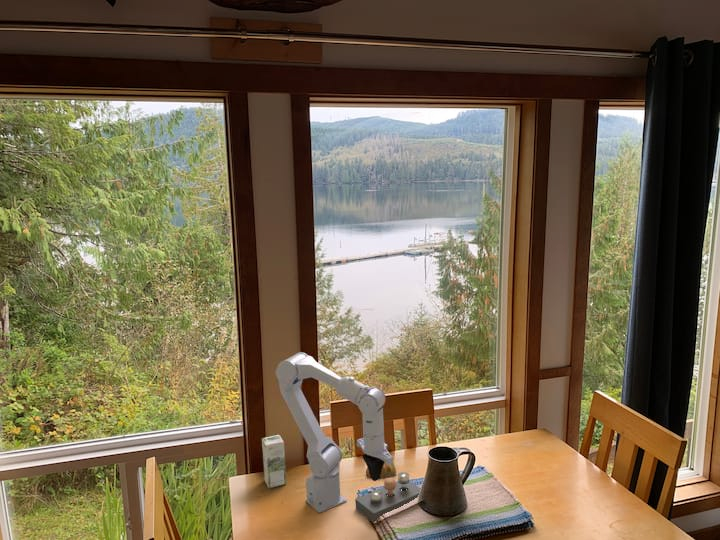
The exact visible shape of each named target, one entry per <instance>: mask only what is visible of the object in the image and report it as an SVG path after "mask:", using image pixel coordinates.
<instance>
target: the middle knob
mask: <svg viewBox="0 0 720 540" xmlns="http://www.w3.org/2000/svg"><path fill="white" fill-rule="evenodd" d="M395 482H396V479H395V478H394V477H385V479H384V480H383V483H384V484H383V487H384V488H385V489H386V490H388V497H389V498H390V497H393V490H394V489H395V488H396V483H395Z"/></svg>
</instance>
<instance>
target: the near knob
mask: <svg viewBox="0 0 720 540" xmlns="http://www.w3.org/2000/svg"><path fill="white" fill-rule="evenodd" d="M369 493H370V501H371V502H372V503H374V504H377V503H380V502H381V501H382V493H381V492H380V491H376V490H372V491H370V492H369Z"/></svg>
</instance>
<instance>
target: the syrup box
mask: <svg viewBox="0 0 720 540" xmlns="http://www.w3.org/2000/svg"><path fill="white" fill-rule="evenodd" d="M261 447H262V461H263V462H262V464H263V477H264V478H263V479H264V481H265V484H266V485H267V488H268V489H269V490H270V489H273V488H277V487H281V486H284V485H287V473H286V459H285V458H286V457H285V442H284V439H282V437H281V435H280V434H277V435H271V436H266V437H262V438H261Z"/></svg>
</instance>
